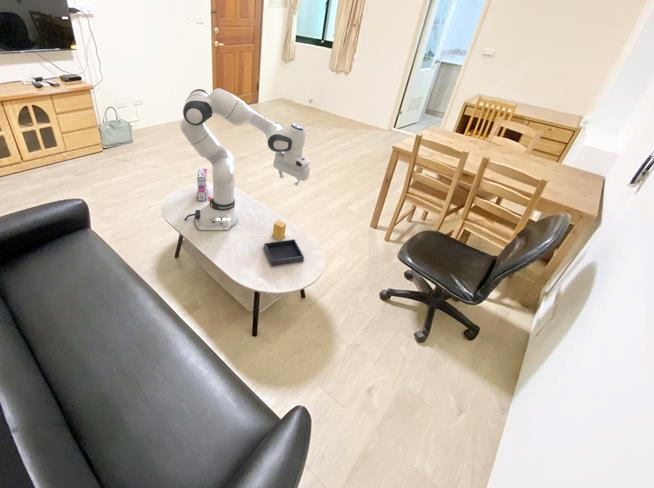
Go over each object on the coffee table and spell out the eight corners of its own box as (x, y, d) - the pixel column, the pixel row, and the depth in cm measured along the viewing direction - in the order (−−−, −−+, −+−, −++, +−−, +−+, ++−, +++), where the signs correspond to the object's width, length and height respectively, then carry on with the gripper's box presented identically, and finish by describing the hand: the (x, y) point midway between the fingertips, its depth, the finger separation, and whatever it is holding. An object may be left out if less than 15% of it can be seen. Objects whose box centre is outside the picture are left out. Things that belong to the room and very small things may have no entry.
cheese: (272, 236, 178) (274, 223, 173) (276, 233, 181) (278, 219, 176) (279, 240, 176) (281, 227, 171) (284, 237, 179) (286, 224, 173)
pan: (271, 266, 159) (272, 261, 157) (263, 248, 170) (264, 243, 168) (303, 261, 164) (304, 256, 162) (293, 244, 174) (294, 239, 173)
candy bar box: (206, 201, 200) (205, 177, 190) (197, 201, 199) (196, 177, 190) (207, 191, 209) (207, 168, 200) (199, 191, 208) (198, 168, 199)
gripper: (272, 151, 167) (269, 175, 174) (306, 166, 157) (301, 191, 165) (279, 148, 171) (276, 171, 179) (313, 162, 162) (308, 186, 169)
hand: (288, 181), depth 172 cm, fingers open, 8 cm apart
